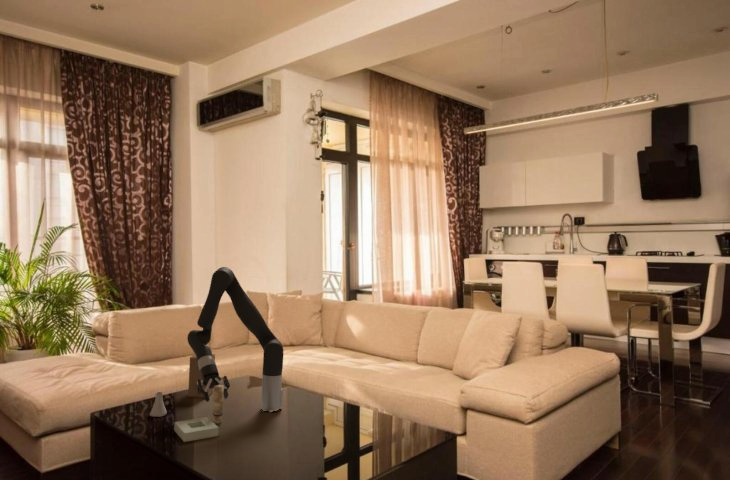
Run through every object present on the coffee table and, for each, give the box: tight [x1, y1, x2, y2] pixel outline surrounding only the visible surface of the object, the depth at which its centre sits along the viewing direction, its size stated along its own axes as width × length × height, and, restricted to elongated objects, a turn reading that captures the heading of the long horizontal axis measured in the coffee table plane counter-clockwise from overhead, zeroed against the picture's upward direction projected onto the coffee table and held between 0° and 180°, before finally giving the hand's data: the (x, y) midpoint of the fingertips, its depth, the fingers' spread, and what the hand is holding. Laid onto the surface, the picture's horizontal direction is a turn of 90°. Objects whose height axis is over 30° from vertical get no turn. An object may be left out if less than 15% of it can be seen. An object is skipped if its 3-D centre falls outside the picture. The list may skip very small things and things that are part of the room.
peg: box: [212, 384, 224, 425], centre depth 241 cm, size 4×4×16 cm
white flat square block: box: [173, 416, 220, 443], centre depth 227 cm, size 14×14×4 cm
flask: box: [149, 391, 168, 418], centre depth 247 cm, size 7×7×10 cm
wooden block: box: [187, 353, 216, 399], centre depth 278 cm, size 10×10×20 cm
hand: (217, 399), depth 241 cm, fingers open, 8 cm apart
